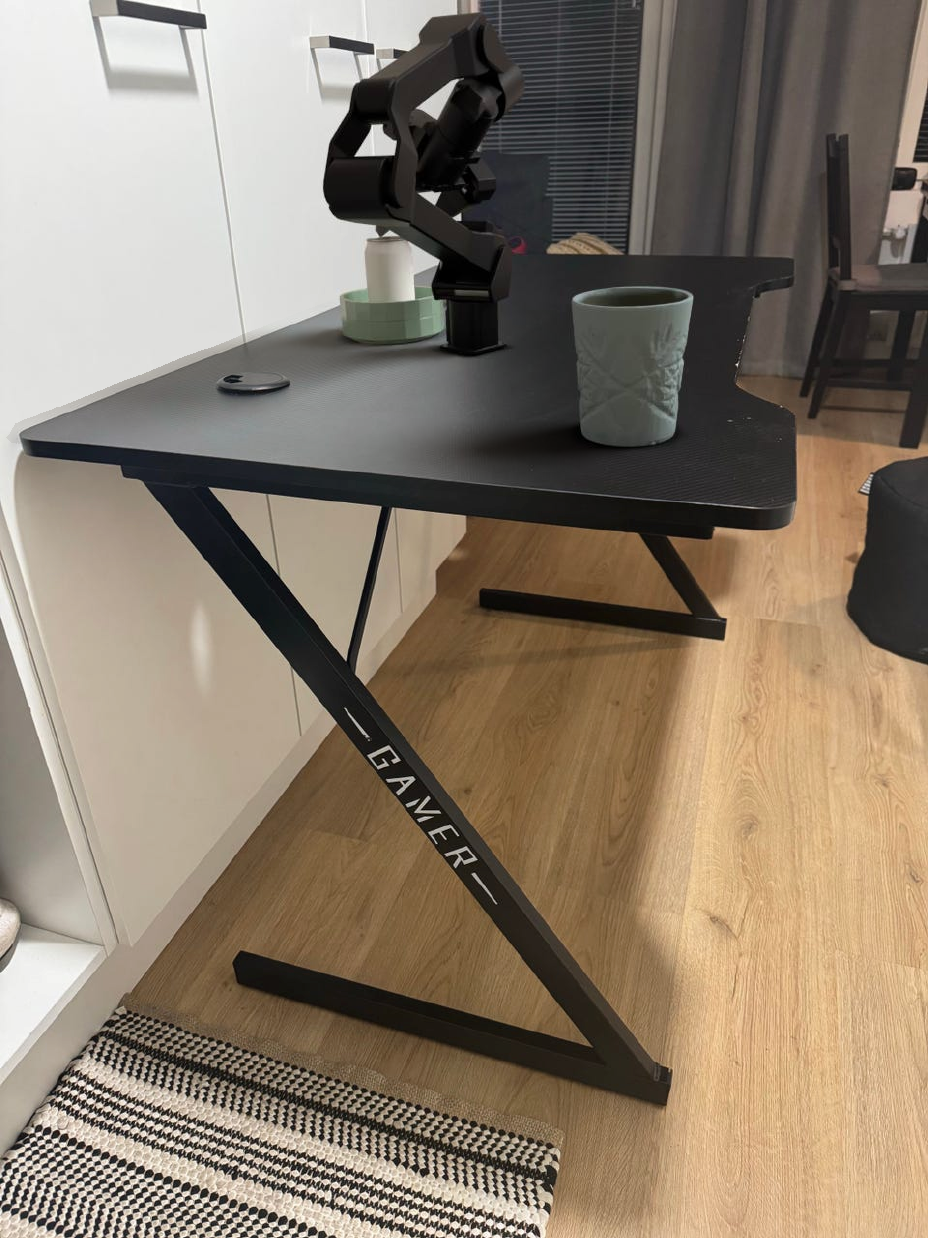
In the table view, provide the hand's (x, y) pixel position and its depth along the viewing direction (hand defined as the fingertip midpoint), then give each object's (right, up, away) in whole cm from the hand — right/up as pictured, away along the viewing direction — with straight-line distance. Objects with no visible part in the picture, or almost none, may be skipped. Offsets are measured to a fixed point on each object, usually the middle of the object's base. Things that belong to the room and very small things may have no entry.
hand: (404, 229), depth 118 cm
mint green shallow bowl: (-2, -12, +8) cm, 14 cm away
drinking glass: (+23, -35, -36) cm, 55 cm away
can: (-2, -11, +7) cm, 14 cm away
